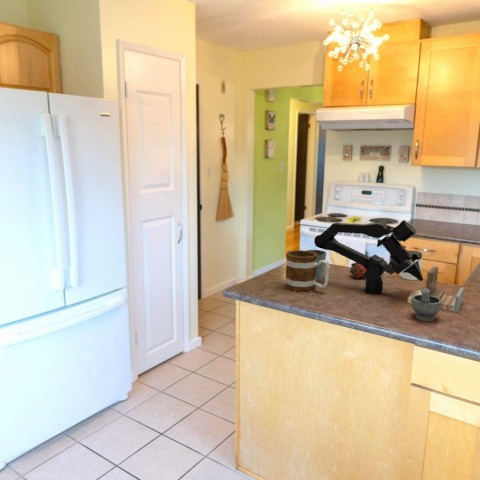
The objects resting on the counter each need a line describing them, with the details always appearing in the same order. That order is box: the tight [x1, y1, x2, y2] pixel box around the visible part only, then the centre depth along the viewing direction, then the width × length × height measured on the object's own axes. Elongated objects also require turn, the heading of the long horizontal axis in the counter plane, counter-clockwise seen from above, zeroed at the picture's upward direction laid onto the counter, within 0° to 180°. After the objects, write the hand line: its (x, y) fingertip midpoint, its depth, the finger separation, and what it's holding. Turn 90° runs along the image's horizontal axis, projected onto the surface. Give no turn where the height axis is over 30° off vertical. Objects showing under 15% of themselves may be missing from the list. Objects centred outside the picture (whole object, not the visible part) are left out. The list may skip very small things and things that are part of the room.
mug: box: [284, 249, 330, 293], centre depth 181 cm, size 20×14×15 cm
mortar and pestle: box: [410, 287, 442, 322], centre depth 150 cm, size 11×9×12 cm
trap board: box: [407, 289, 456, 312], centre depth 167 cm, size 16×12×2 cm
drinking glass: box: [305, 249, 327, 280], centre depth 199 cm, size 10×10×12 cm
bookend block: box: [425, 266, 445, 299], centre depth 165 cm, size 5×10×11 cm, turn 146°
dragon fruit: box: [349, 262, 367, 279], centre depth 200 cm, size 8×8×12 cm
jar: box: [399, 250, 423, 281], centre depth 199 cm, size 9×8×12 cm
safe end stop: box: [453, 286, 465, 313], centre depth 161 cm, size 1×13×6 cm, turn 146°
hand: (422, 280), depth 168 cm, fingers closed
